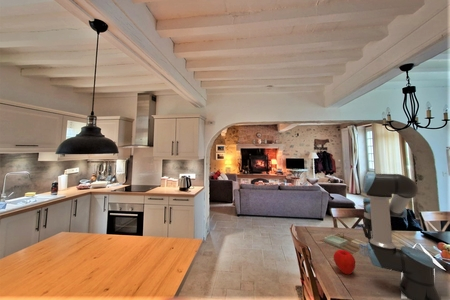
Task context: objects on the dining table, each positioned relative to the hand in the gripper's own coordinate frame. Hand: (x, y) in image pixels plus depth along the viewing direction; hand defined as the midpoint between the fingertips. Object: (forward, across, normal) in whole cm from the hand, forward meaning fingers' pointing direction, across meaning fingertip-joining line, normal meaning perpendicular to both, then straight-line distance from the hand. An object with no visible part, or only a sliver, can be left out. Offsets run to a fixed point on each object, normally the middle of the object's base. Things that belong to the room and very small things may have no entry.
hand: (372, 248), depth 138 cm
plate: (+2, +9, 0) cm, 10 cm away
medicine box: (+3, -1, +11) cm, 12 cm away
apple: (+3, -4, +45) cm, 45 cm away
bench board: (+3, +17, +6) cm, 19 cm away
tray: (+2, +21, +12) cm, 25 cm away
